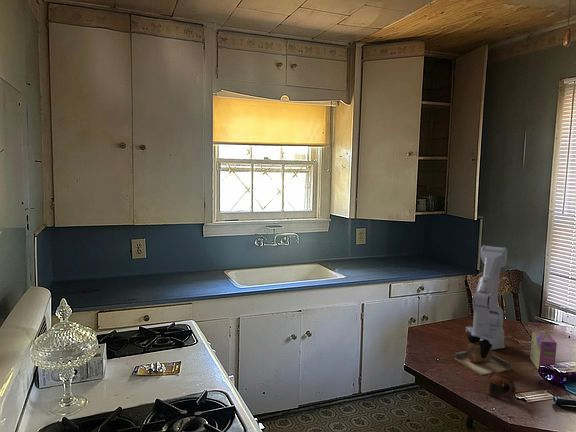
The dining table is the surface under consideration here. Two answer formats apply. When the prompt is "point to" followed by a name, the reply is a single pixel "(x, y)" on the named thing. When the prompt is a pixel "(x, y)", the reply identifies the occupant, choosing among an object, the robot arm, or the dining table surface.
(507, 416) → the dining table surface
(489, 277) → the robot arm
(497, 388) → the pottery mug
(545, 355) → the box
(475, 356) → the walnut block
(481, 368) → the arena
